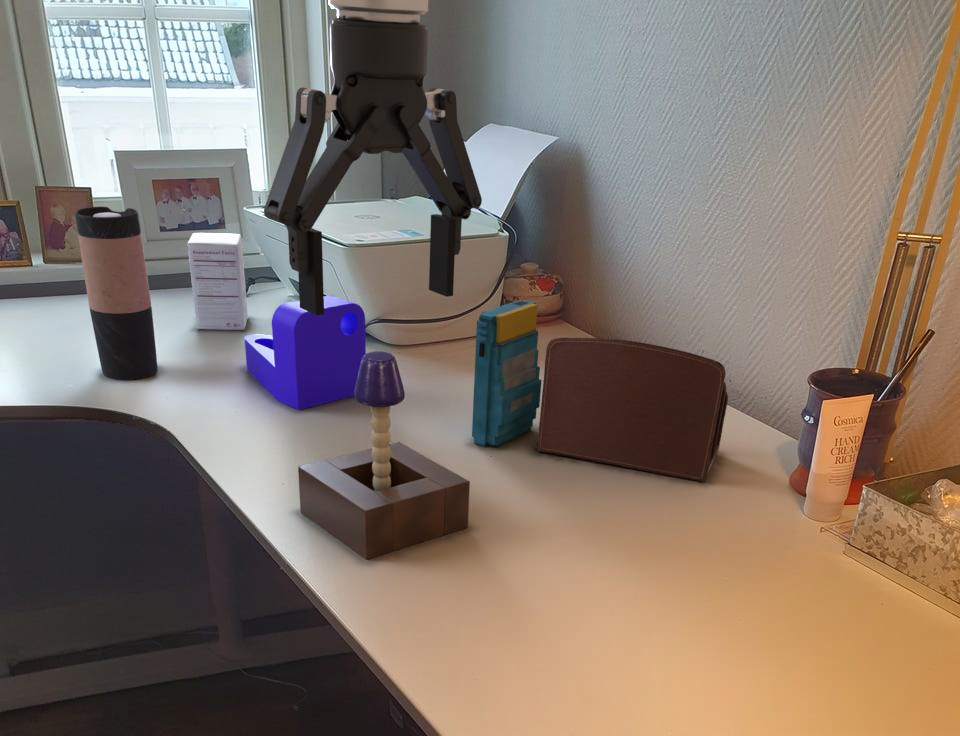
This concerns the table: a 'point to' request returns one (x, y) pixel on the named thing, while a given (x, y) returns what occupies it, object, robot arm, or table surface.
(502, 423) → the handheld gaming console
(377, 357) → the toy lamp
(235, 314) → the white packaging box
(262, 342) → the bracket
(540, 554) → the table surface
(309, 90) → the robot arm
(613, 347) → the letter holder
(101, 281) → the travel mug
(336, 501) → the socket base
